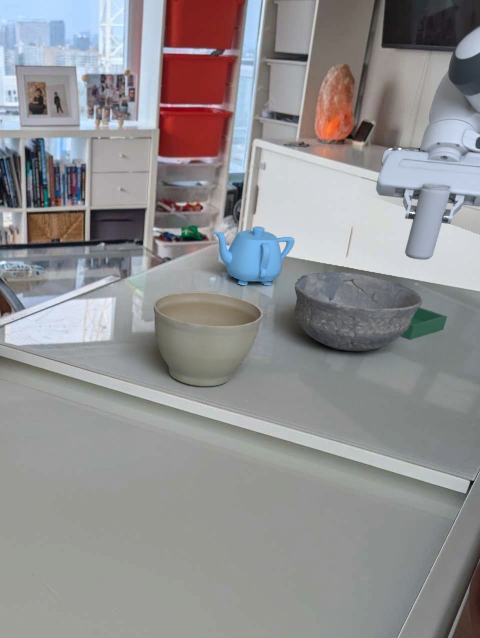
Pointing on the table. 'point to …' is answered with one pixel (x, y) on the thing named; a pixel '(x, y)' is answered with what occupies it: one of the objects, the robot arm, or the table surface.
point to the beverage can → (427, 221)
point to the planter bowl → (205, 335)
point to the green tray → (424, 323)
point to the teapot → (254, 255)
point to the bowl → (353, 309)
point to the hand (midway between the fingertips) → (428, 219)
